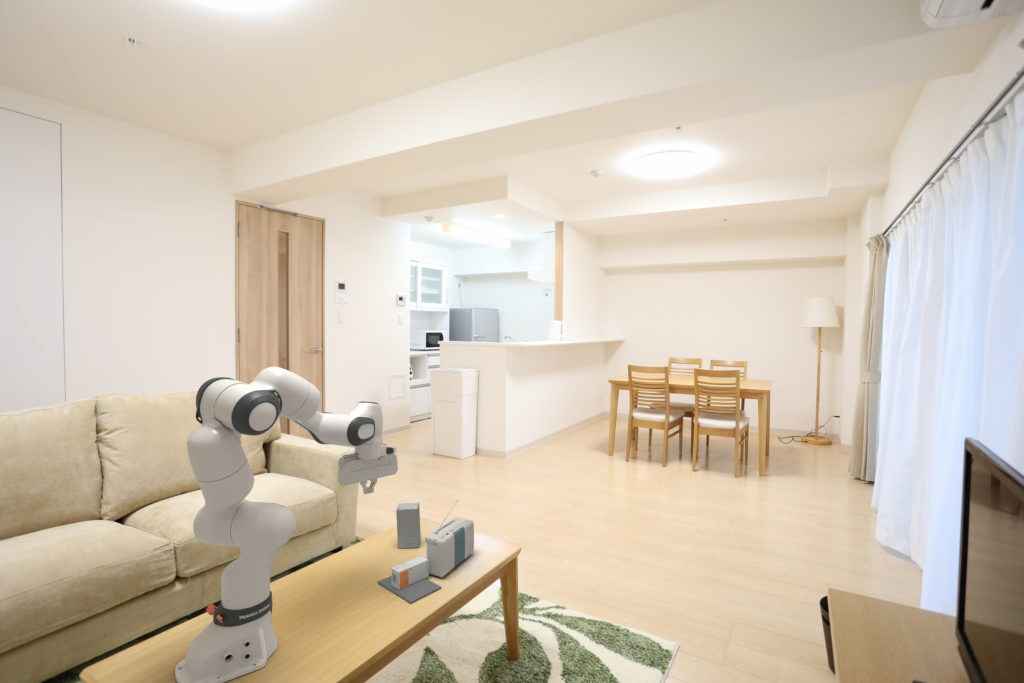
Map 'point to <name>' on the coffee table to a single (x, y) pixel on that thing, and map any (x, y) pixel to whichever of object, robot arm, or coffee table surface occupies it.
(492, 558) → the coffee table surface
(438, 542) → the stereo radio cassette player
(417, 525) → the skincare box
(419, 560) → the skincare box
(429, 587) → the mat
